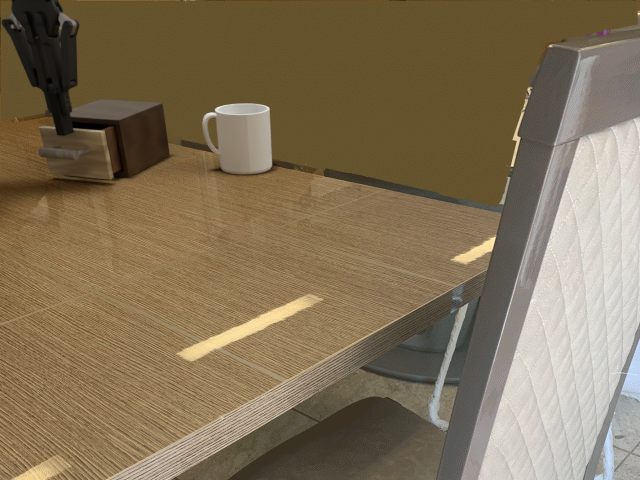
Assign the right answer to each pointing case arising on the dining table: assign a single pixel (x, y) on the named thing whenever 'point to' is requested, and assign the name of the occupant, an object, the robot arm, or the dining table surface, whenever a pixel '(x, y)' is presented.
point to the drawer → (82, 150)
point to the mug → (242, 138)
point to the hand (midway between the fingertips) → (65, 133)
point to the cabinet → (130, 130)
